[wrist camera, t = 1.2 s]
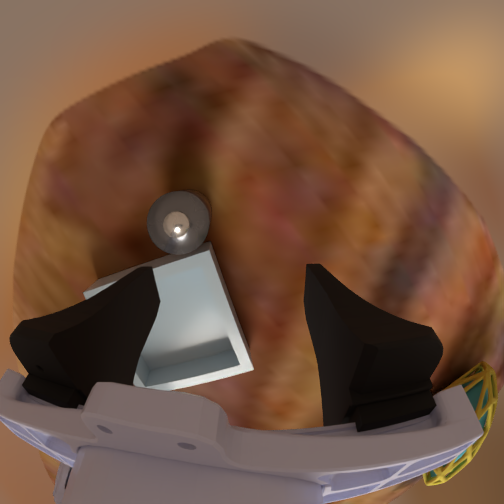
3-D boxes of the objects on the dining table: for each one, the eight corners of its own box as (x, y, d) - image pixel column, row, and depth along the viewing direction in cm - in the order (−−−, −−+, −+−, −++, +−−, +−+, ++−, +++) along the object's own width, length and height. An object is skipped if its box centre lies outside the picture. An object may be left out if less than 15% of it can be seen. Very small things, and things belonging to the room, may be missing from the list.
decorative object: (416, 430, 43) (466, 451, 31) (364, 482, 30) (429, 516, 18) (455, 338, 42) (514, 355, 29) (421, 368, 29) (512, 399, 16)
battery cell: (175, 240, 24) (157, 265, 17) (160, 198, 23) (136, 204, 16) (217, 226, 24) (217, 245, 17) (204, 183, 23) (197, 182, 16)
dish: (147, 375, 27) (141, 395, 24) (97, 279, 24) (82, 292, 20) (249, 349, 27) (253, 369, 24) (210, 240, 24) (209, 250, 21)
